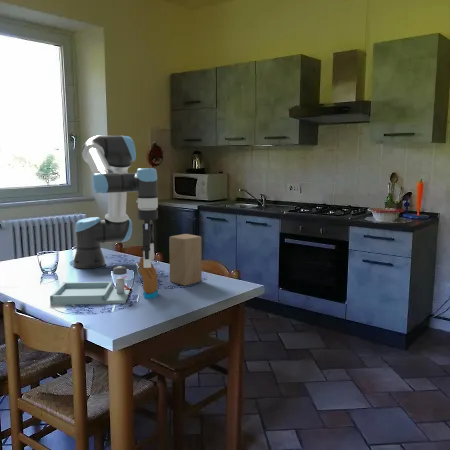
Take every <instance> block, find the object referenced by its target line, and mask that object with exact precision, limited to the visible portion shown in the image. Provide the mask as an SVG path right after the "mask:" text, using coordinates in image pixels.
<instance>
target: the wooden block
mask: <svg viewBox="0 0 450 450" xmlns="http://www.w3.org/2000/svg"><path fill="white" fill-rule="evenodd" d="M168 241H169V252H168V253H169V282H171V283H175V284H178V285H181V286H188V285H189V286H190V285H194V284H196V283H200V282H202V279H203V277H202V271H203V270H202V269H203V268H202V236H200V235H194V234H191V233H190V234H189V233H182V234H177V235H176V234H175V235H171V236H169V239H168Z"/></svg>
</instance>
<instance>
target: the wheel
mask: <svg viewBox="0 0 450 450" xmlns="http://www.w3.org/2000/svg"><path fill="white" fill-rule="evenodd" d="M112 271H113V275H117V276H119V275H126V274H127V267H126V266H121V265H119V266H114V267H113V269H112Z"/></svg>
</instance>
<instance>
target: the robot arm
mask: <svg viewBox="0 0 450 450" xmlns="http://www.w3.org/2000/svg"><path fill="white" fill-rule="evenodd" d="M136 151H137V150H136V146H135V142H134V140H133V138H132V137H131V136H127V135H102V134H101V135H94V136H91V137H90V138H88V139H87V140H86V141H85V142H84V143H83V144H82V146H81V151H80V152H81V157H82V159H83V160H84V162H85V163H86V164H88V167H89V168H90V170H91V173H92V176H91V187H92V191H93V192H94V193H96V194H108V197H107V198H108V205H107V207H108V208H107V213H106V214H105V215H104V219H101V217H98V216H95V217H93V216H92V217H91V216H90V217H86V218H82V219H81V218H80V219H78V220H77V221H76V222H75V230H74V232H75V243H76V246H75V247H76V251H75V255H74V257H73V258H74V259H73V262H72V265H73V267H74V268H76V269H95V268H101V267H103V266H105V265H106V259H105V256H104V253H103V251H102V244H111V243H113V244H114V243H123V242H128V241H129V240H130V239H131V237H132V232H133V222H132V220H131V219H130V218H129V215H128V214H127V198H128V197H127V194H128V193H137V200H135V203H137V208H138V210H137V218H138V220H139V221H144V222H143V224H142V248H140V249H141V251H142V257H143V263H144V268H151V263H152V260H155V244H156V240H155V238H154V237H155V235H154V234H155V233H154V225H155V223H153V222H154V220H158V219H159V215H158V213H159V211H158V208H159V206H158V205H159V204H158V203H159V201H158V200H159V198H158V173H157V169H156V168H152V167H150V168H149V167H146V168H144V167H143V168H140V167H139V168H137V170H136V172H128V169H129V168H130V167H132V162H136V159H137V154H136V153H137V152H136Z"/></svg>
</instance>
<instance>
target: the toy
mask: <svg viewBox="0 0 450 450" xmlns="http://www.w3.org/2000/svg"><path fill="white" fill-rule="evenodd" d="M137 267H139V269H138V272H139V273H140V275H141V276H142V281H143V283H142V289H143V294H142V295H143V298H144V299H145V300H151V299H155V298H157V297H158V296H159V289H158V285H159V284H158V273H157V270H156V269H155V268H154V265H153V263H152V262H151V268H144V263H143V256H141V257H140V259H139V262H138V263H137Z"/></svg>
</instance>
